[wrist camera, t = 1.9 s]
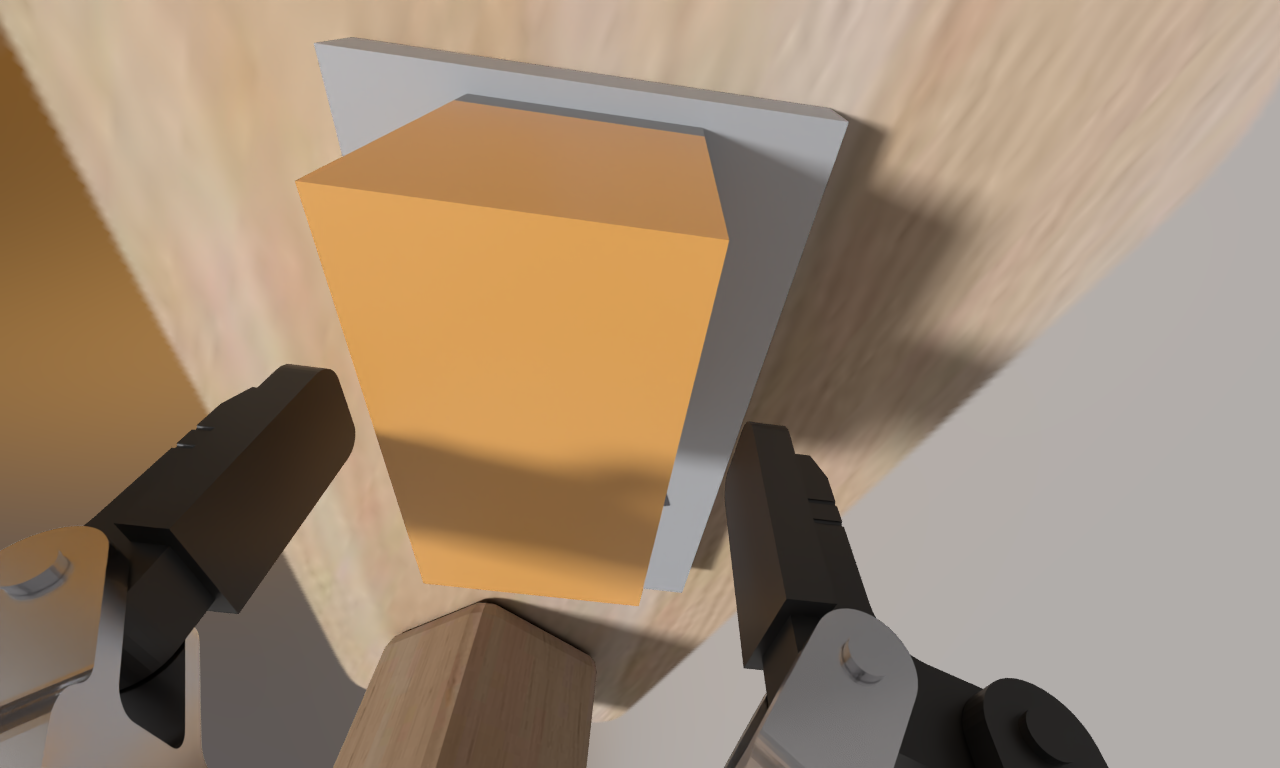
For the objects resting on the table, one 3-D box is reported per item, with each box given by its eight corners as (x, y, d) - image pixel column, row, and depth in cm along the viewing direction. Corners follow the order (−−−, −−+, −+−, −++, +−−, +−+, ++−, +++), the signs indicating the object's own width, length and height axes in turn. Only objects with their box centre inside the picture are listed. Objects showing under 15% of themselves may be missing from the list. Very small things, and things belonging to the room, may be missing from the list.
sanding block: (467, 93, 10) (295, 180, 5) (702, 127, 10) (729, 240, 6) (496, 409, 16) (423, 583, 11) (647, 427, 16) (638, 605, 11)
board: (352, 37, 11) (313, 43, 10) (830, 108, 11) (849, 122, 10) (457, 538, 24) (446, 567, 22) (681, 563, 24) (681, 593, 23)
